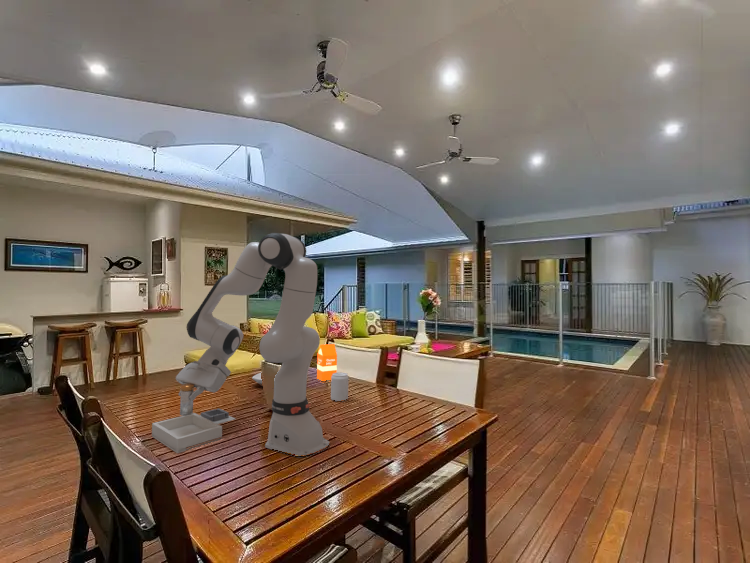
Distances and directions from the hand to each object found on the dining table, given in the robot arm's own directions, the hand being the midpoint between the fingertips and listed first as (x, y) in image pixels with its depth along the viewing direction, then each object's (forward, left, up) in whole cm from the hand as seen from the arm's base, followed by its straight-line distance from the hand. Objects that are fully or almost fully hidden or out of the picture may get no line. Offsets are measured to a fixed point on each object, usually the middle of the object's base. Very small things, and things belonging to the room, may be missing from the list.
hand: (185, 397), depth 135 cm
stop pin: (0, -1, -6) cm, 6 cm away
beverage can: (-7, -69, -14) cm, 71 cm away
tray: (0, -1, -14) cm, 14 cm away
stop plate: (+9, -16, -14) cm, 23 cm away
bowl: (+35, -64, -14) cm, 74 cm away
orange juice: (+24, -90, -14) cm, 94 cm away
